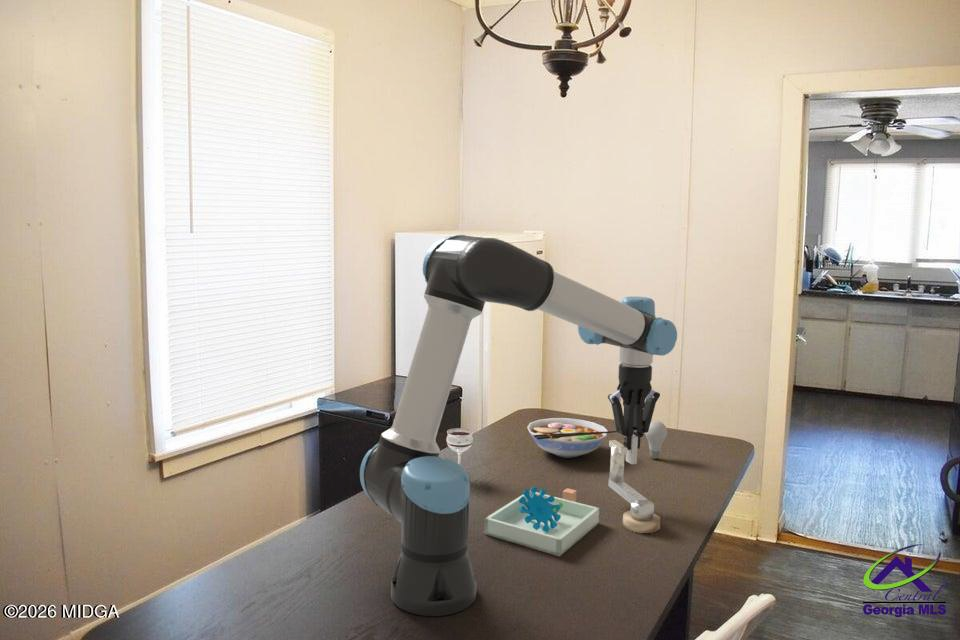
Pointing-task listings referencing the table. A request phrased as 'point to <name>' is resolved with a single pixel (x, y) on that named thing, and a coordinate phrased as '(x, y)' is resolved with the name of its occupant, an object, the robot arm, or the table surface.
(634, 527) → the crank pedestal
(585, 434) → the ramen bowl
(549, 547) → the tray
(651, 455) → the lightbulb
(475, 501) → the table surface
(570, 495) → the post
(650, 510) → the crank
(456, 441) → the wineglass
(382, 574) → the table surface
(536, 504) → the gear
